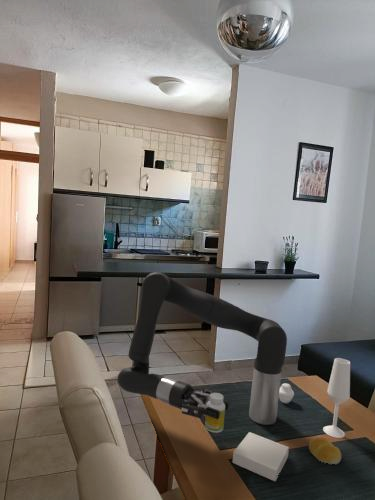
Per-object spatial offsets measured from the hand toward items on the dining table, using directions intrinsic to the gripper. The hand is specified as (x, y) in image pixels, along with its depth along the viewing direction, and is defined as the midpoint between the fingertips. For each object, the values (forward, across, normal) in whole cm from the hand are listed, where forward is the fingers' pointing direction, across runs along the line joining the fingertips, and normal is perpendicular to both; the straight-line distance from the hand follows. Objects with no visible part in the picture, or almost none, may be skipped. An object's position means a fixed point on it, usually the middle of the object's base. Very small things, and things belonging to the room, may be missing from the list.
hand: (223, 410), depth 103 cm
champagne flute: (+26, +32, +12) cm, 43 cm away
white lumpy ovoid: (+7, +42, +12) cm, 44 cm away
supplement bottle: (-3, 0, +6) cm, 7 cm away
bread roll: (+26, +17, +12) cm, 33 cm away
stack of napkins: (+11, +3, +12) cm, 16 cm away
